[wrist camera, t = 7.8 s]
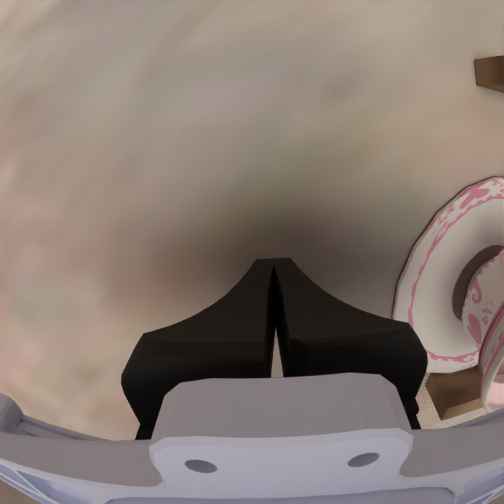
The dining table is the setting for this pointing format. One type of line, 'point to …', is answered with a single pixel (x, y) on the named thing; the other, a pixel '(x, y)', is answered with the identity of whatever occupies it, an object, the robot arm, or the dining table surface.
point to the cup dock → (469, 380)
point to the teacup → (443, 282)
